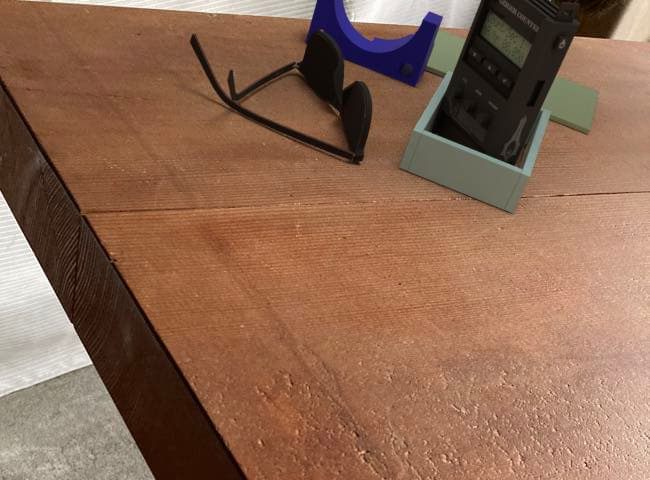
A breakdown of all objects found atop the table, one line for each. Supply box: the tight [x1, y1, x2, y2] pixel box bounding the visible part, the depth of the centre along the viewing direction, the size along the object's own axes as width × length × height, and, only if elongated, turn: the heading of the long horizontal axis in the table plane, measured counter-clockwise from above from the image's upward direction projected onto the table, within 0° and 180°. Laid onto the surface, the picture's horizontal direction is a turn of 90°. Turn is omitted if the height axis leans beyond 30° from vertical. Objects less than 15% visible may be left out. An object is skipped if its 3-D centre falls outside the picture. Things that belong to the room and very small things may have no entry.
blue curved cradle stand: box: [304, 0, 444, 87], centre depth 98 cm, size 12×4×6 cm, turn 70°
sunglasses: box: [189, 30, 373, 162], centre depth 85 cm, size 17×14×5 cm
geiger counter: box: [430, 0, 581, 167], centre depth 85 cm, size 10×4×15 cm, turn 25°
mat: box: [425, 28, 600, 135], centre depth 106 cm, size 20×12×1 cm, turn 70°
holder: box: [398, 71, 551, 214], centre depth 89 cm, size 11×16×4 cm, turn 160°
